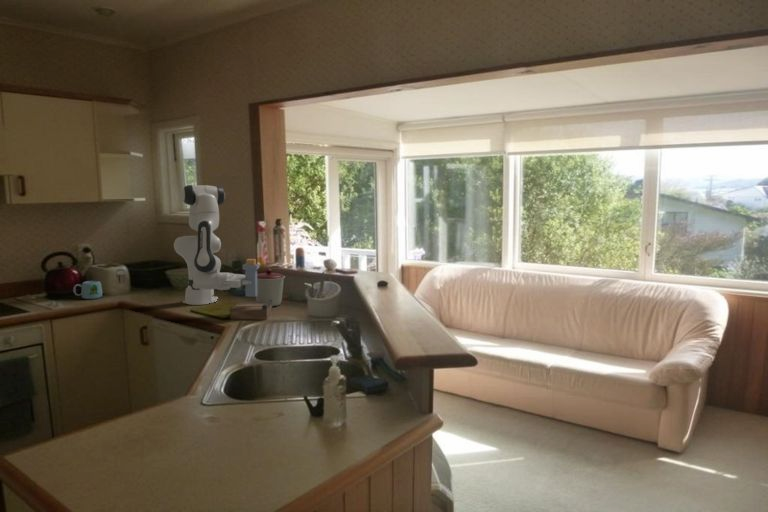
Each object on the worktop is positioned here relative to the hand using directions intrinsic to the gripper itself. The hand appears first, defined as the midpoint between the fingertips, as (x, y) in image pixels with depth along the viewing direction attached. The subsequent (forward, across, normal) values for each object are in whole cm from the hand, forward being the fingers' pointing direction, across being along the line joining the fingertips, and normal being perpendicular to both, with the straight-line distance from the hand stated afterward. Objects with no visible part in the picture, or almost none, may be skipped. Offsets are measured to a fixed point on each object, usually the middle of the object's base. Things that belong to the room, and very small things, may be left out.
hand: (253, 281), depth 258 cm
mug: (-107, +45, +18) cm, 117 cm away
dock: (-1, 0, +18) cm, 18 cm away
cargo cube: (-1, 0, -7) cm, 7 cm away
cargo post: (-1, 0, +8) cm, 8 cm away
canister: (+3, +27, +18) cm, 33 cm away
